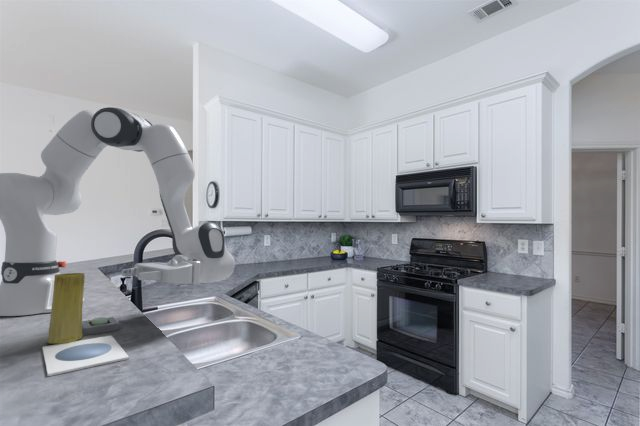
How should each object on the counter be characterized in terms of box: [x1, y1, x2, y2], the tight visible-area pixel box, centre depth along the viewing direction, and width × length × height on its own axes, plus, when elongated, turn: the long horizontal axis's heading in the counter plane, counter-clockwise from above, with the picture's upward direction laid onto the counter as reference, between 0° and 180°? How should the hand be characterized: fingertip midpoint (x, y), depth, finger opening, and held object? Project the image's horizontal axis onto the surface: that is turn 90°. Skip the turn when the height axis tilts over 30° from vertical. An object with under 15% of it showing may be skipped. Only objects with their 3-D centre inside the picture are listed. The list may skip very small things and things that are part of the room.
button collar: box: [82, 316, 120, 336], centre depth 79 cm, size 7×7×2 cm
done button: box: [91, 316, 109, 326], centre depth 79 cm, size 3×3×1 cm
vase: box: [46, 272, 85, 345], centre depth 71 cm, size 6×6×14 cm
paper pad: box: [41, 335, 130, 377], centre depth 64 cm, size 16×12×1 cm
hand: (130, 274), depth 80 cm, fingers open, 8 cm apart
